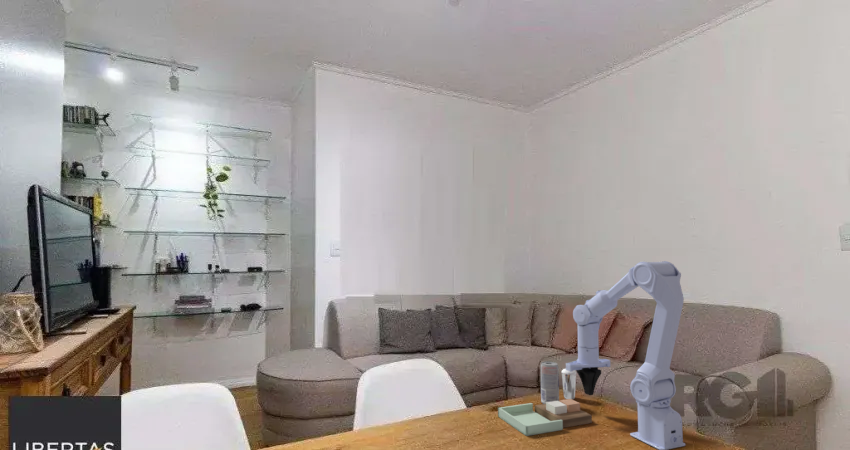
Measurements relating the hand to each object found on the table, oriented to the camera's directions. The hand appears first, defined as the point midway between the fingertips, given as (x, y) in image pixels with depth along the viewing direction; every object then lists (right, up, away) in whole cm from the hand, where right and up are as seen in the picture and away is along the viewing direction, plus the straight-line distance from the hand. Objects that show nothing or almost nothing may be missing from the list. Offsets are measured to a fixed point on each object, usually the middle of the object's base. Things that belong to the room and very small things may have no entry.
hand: (588, 394), depth 126 cm
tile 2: (-6, -3, -3) cm, 8 cm away
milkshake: (-1, -6, +13) cm, 14 cm away
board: (-9, -5, -4) cm, 11 cm away
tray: (-19, -5, -8) cm, 21 cm away
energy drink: (-9, -6, +8) cm, 13 cm away
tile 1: (-11, -3, -4) cm, 12 cm away
